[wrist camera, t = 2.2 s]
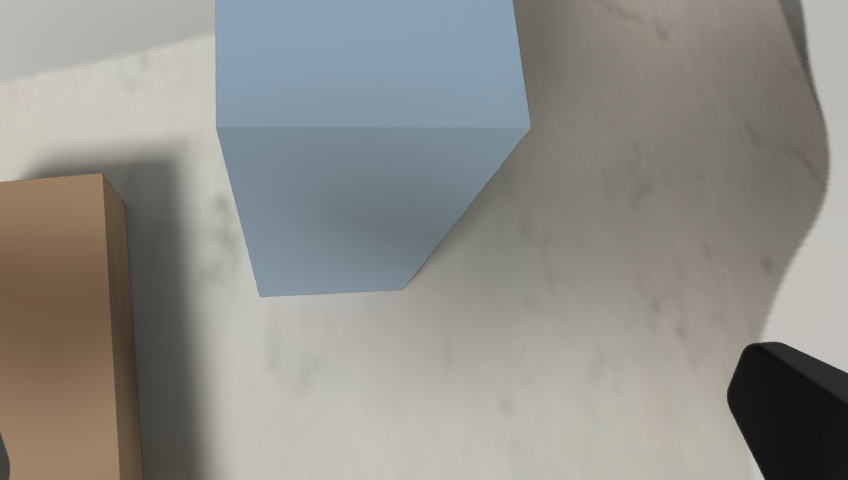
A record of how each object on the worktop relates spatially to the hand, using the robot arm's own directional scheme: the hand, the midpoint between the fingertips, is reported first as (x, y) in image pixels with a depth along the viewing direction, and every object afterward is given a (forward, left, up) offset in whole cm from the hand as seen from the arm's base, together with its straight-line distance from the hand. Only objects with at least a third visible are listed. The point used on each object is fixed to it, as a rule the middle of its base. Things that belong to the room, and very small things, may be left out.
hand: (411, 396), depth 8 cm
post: (+4, -5, -12) cm, 14 cm away
